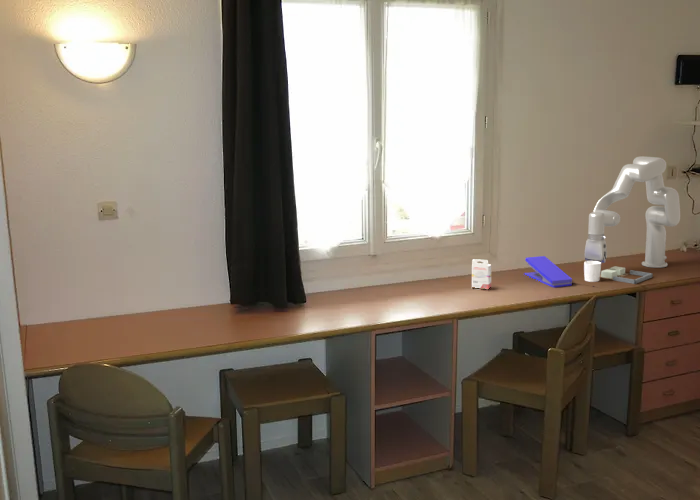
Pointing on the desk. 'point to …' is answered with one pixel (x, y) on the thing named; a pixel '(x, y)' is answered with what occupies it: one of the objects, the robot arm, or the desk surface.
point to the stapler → (547, 272)
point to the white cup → (592, 271)
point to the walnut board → (617, 275)
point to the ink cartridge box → (481, 274)
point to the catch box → (645, 277)
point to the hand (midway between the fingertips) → (594, 272)
